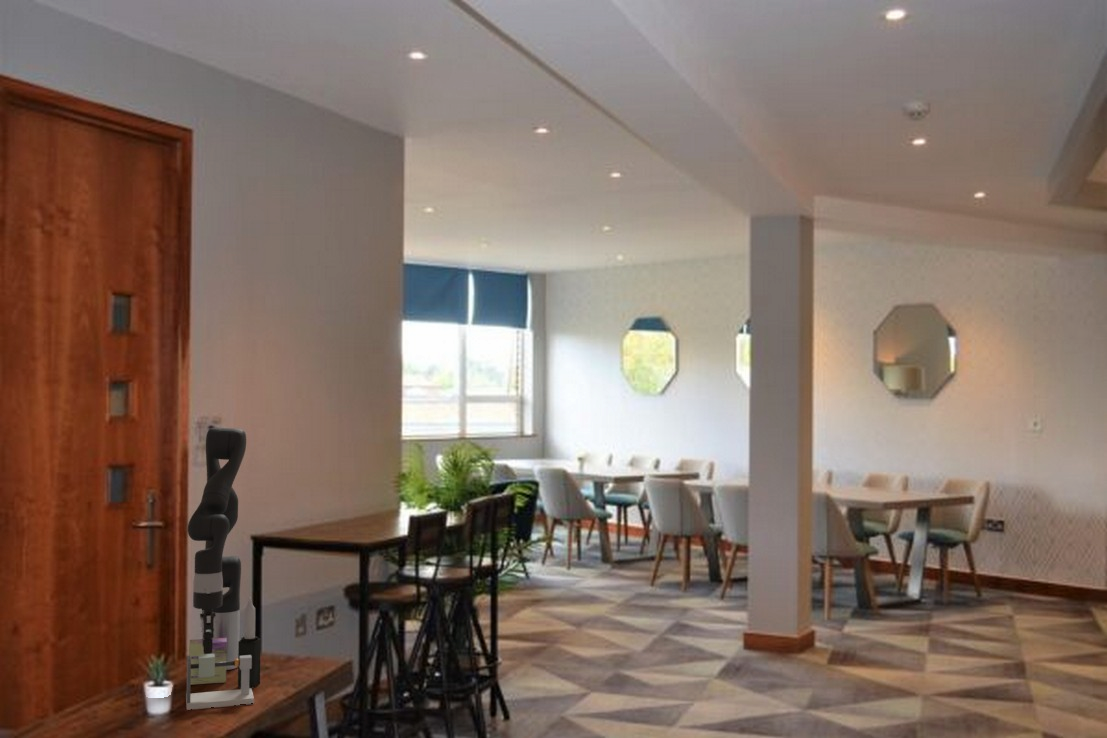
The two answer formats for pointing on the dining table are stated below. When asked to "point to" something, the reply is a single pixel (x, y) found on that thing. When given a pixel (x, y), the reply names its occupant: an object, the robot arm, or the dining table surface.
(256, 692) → the dining table surface
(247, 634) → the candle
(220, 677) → the box
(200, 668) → the sleeve
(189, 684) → the cord rack
